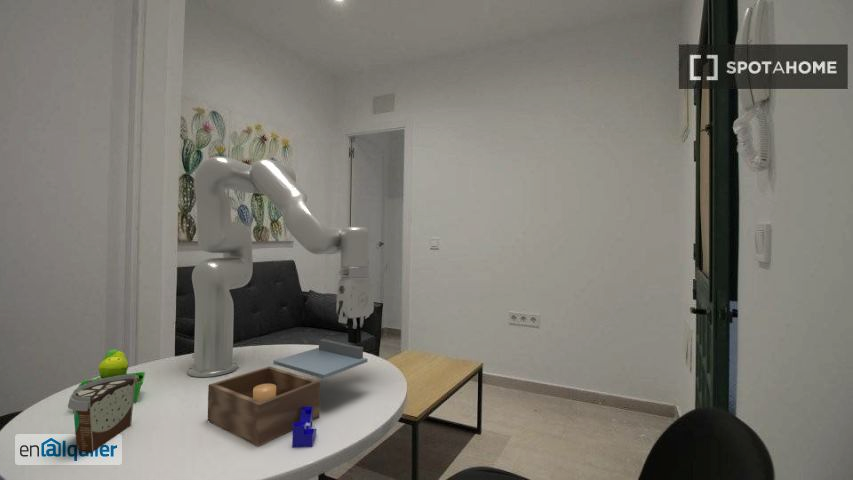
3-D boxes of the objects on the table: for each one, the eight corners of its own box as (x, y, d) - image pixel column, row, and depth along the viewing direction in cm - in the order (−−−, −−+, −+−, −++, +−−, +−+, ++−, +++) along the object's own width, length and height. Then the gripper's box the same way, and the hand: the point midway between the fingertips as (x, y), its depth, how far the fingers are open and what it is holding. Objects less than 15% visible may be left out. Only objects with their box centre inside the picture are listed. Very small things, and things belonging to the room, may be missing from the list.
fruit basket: (73, 416, 77) (74, 361, 77) (82, 401, 85) (84, 351, 85) (142, 404, 83) (143, 353, 84) (145, 391, 91) (146, 344, 91)
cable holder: (312, 448, 67) (312, 425, 67) (292, 448, 67) (292, 426, 67) (319, 426, 75) (320, 406, 75) (302, 426, 75) (302, 406, 75)
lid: (273, 363, 89) (273, 349, 89) (319, 350, 100) (319, 338, 101) (323, 378, 80) (323, 363, 80) (367, 361, 91) (367, 348, 91)
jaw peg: (247, 418, 76) (248, 388, 76) (265, 409, 80) (266, 381, 80) (261, 424, 74) (262, 394, 74) (279, 415, 78) (280, 386, 78)
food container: (103, 424, 74) (104, 373, 74) (136, 423, 75) (137, 373, 75) (45, 460, 62) (47, 399, 62) (85, 459, 62) (87, 398, 62)
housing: (207, 421, 76) (208, 384, 76) (268, 398, 88) (269, 366, 88) (258, 447, 67) (259, 405, 67) (319, 417, 79) (319, 381, 79)
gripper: (345, 275, 91) (344, 351, 91) (383, 272, 104) (383, 338, 104) (323, 274, 95) (323, 346, 95) (363, 271, 108) (362, 335, 108)
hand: (354, 342), depth 99 cm, fingers closed
